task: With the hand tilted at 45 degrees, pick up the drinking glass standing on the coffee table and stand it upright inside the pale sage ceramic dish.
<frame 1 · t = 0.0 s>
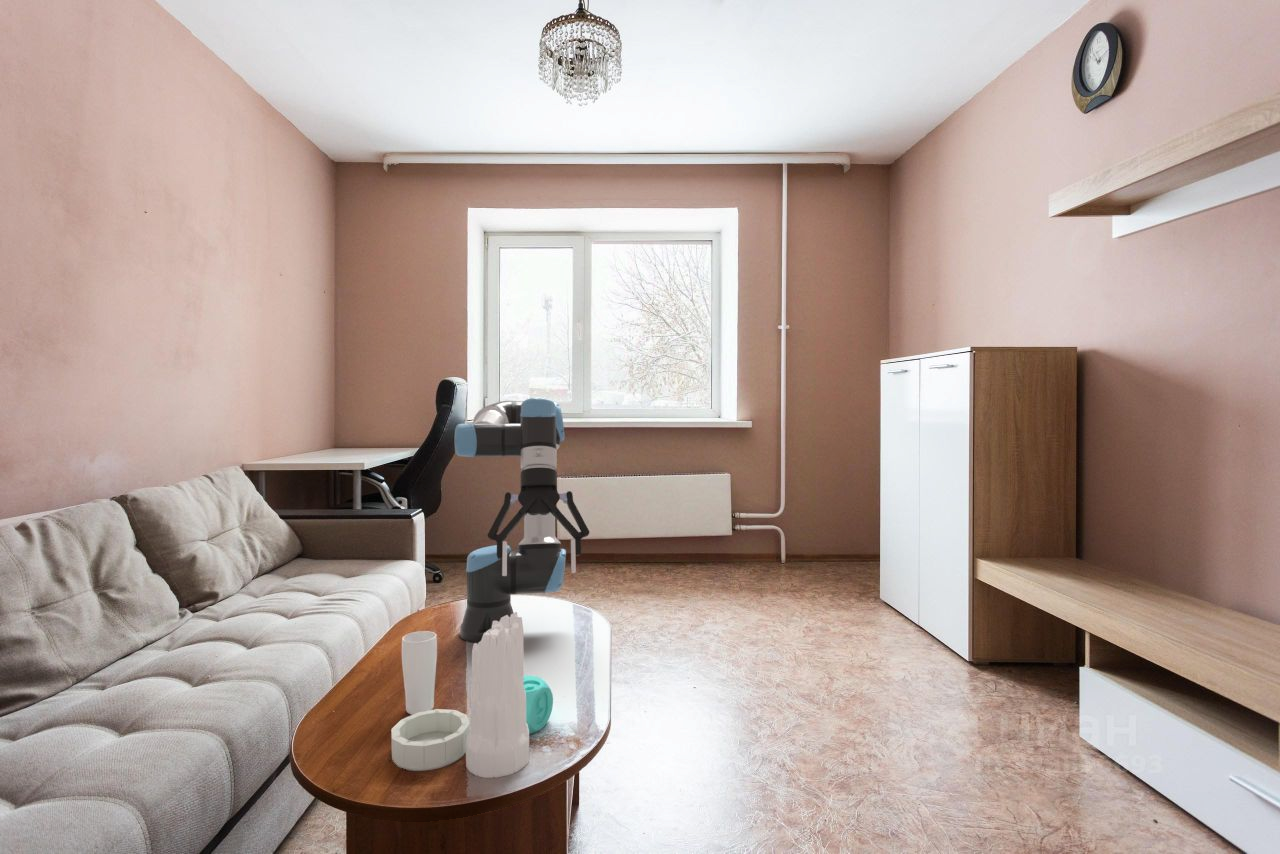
hand: (539, 574, 126), 28 cm above the table, tool tilted 20°, fingers open, 13 cm apart
decorative dice: (524, 726, 121), on the table
drinking glass: (420, 711, 127), on the table
dish: (431, 750, 112), on the table
decorative vase: (498, 761, 109), on the table
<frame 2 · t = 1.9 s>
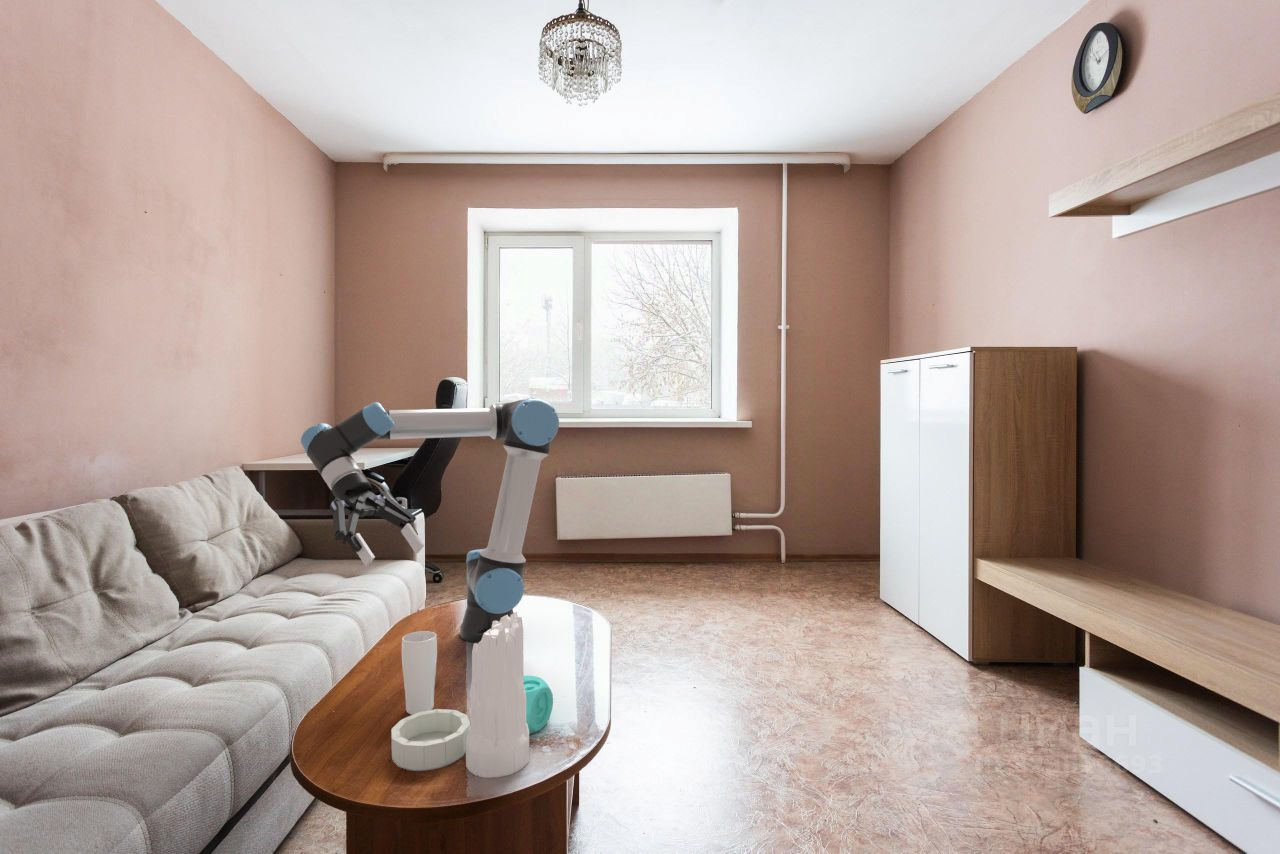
hand: (396, 555, 135), 29 cm above the table, tool tilted 45°, fingers open, 13 cm apart
nothing on the table moved.
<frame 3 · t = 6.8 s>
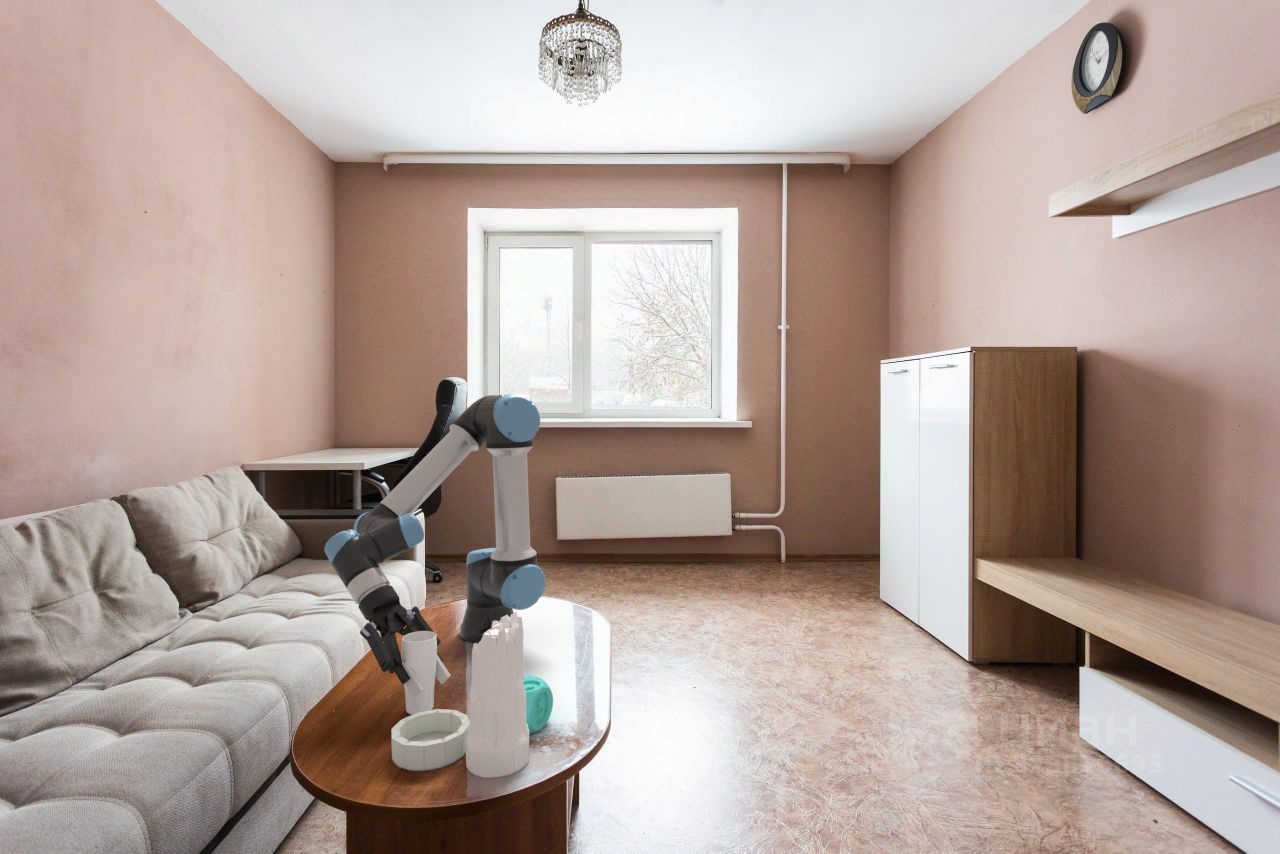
hand: (432, 686, 126), 5 cm above the table, tool tilted 45°, fingers closed on drinking glass, 6 cm apart
drinking glass: (419, 711, 127), on the table, touching gripper
everything else where it was.
when the fingers open (7 cm above the table, at t = 11.6 s): drinking glass drops 1 cm, resting on dish.
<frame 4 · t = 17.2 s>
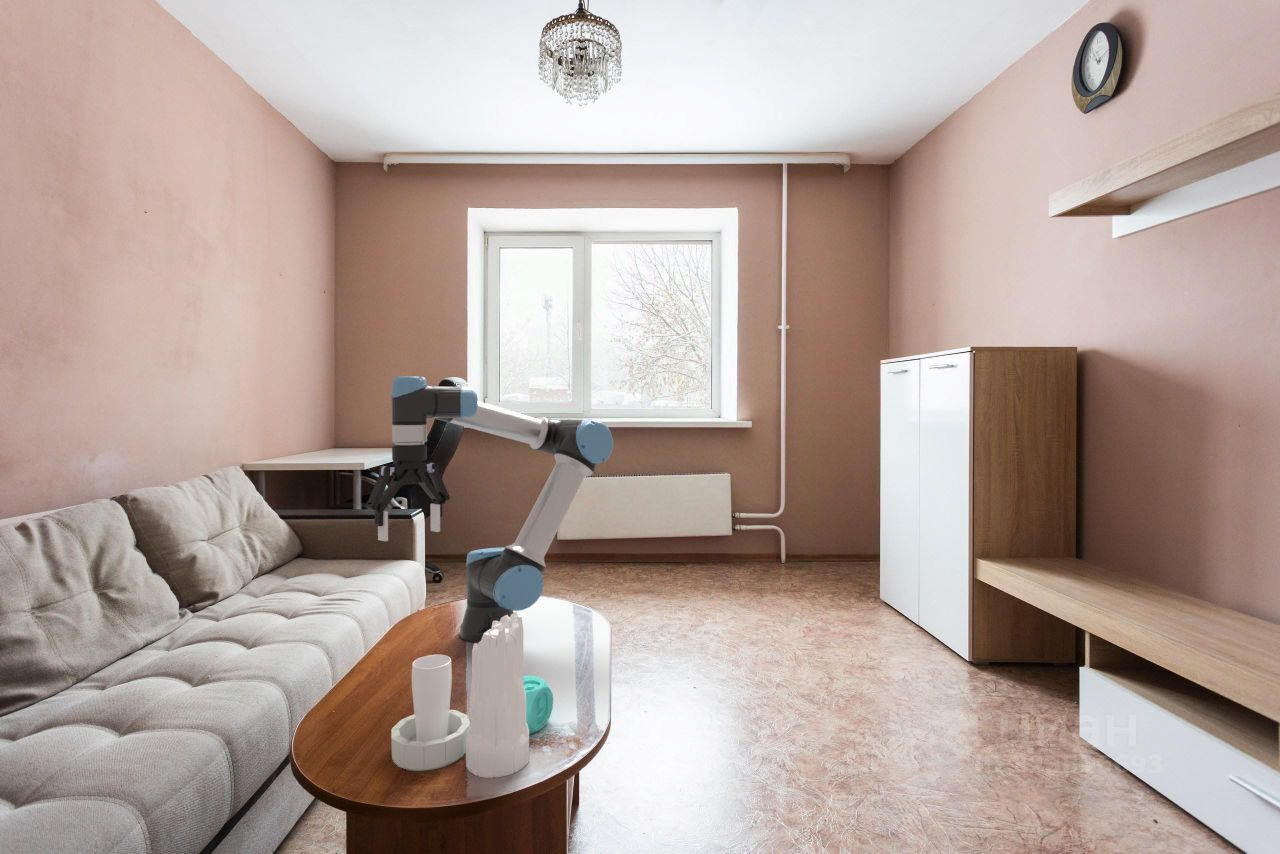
hand: (410, 535, 146), 32 cm above the table, tool pointing down, fingers open, 13 cm apart
drinking glass: (432, 745, 112), point 1 cm above the table, touching dish
everything else where it was.
at the end: drinking glass 0.4 cm off-centre on the dish, point 0.6 cm above the dish's base; drinking glass tilted 0°; the gripper is holding nothing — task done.
